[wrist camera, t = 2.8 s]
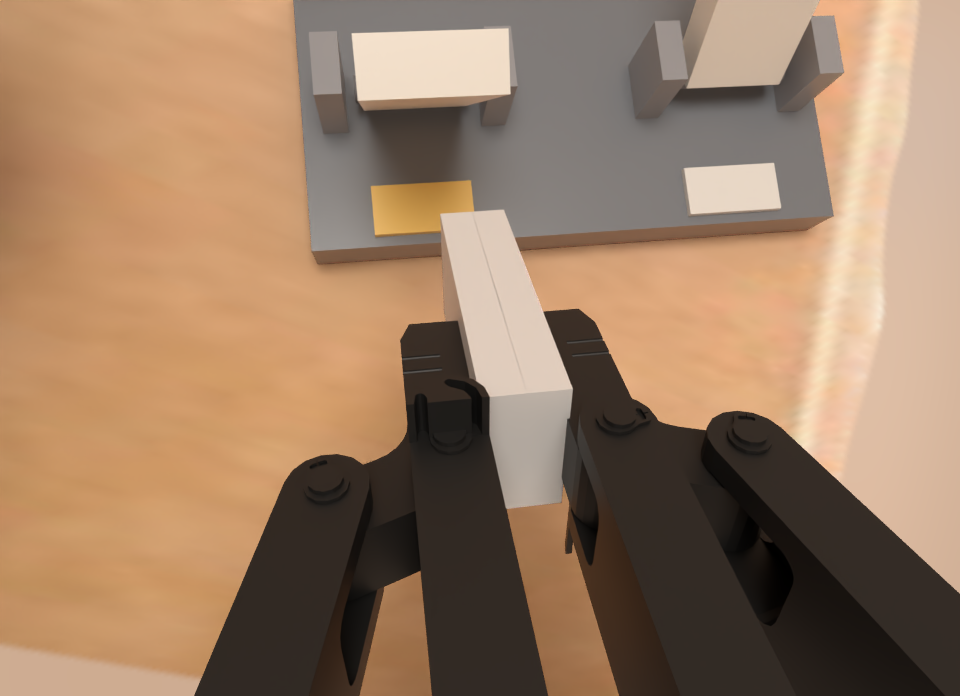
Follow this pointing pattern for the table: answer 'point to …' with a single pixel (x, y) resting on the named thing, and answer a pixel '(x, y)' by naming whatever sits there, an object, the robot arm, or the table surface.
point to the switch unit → (558, 132)
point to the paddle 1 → (430, 68)
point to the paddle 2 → (743, 41)
